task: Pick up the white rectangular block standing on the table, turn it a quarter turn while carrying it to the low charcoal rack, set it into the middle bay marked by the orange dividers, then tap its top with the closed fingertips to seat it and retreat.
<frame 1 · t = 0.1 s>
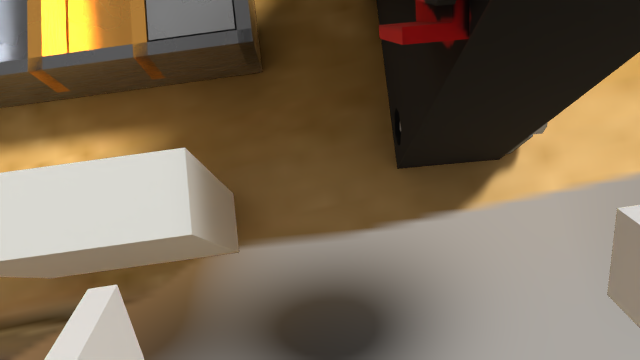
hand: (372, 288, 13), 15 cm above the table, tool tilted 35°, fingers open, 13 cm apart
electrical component: (430, 32, 32), on the table
white rectangular block: (143, 235, 29), on the table
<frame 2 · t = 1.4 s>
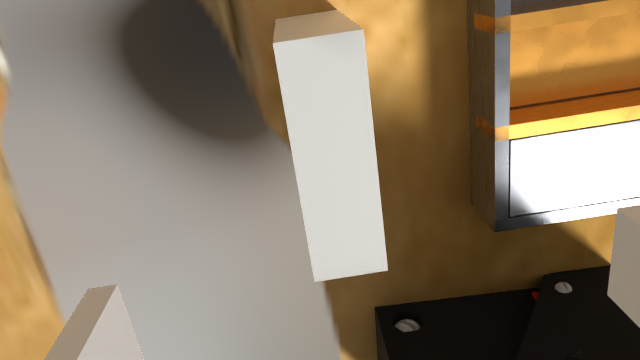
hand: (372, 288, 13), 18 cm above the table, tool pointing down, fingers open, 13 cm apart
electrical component: (489, 325, 38), on the table
rack: (588, 50, 30), on the table
white rectangular block: (319, 108, 30), on the table
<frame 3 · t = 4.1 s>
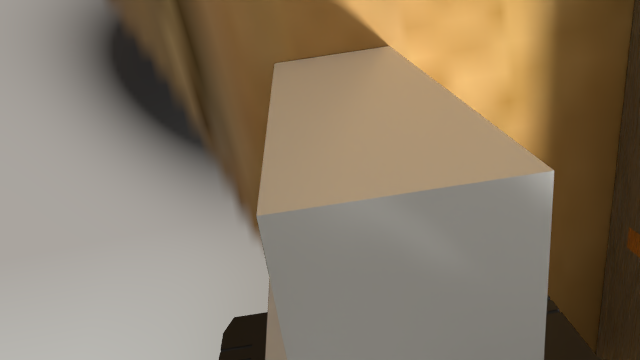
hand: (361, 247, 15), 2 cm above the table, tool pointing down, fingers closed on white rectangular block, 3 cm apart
white rectangular block: (352, 215, 17), on the table, touching gripper
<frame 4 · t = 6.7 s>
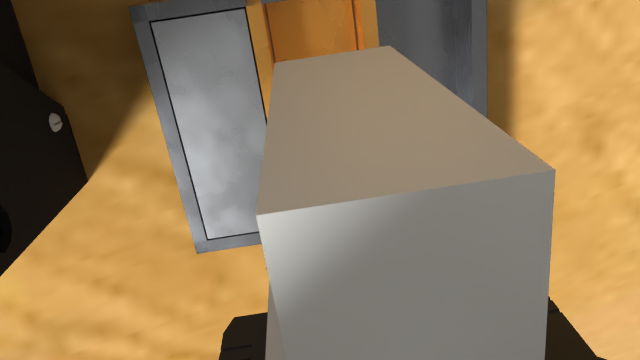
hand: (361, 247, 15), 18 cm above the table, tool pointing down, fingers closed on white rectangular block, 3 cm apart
rack: (322, 101, 31), on the table
white rectangular block: (352, 215, 17), point 16 cm above the table, touching gripper
when the fingers open (5 cm above the table, at t = 9.5 s): white rectangular block drops 2 cm, resting on rack.
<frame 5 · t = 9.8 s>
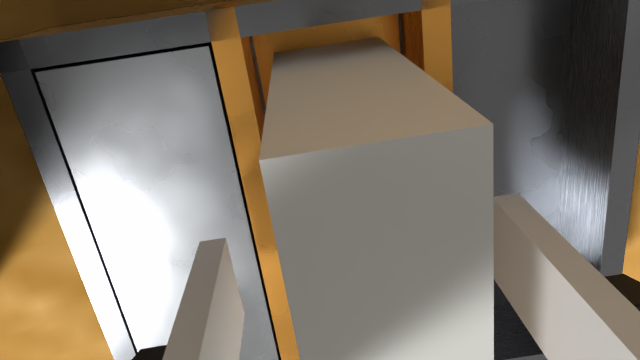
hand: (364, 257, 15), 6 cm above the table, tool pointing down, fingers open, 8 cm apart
rack: (343, 181, 20), on the table
white rectangular block: (346, 193, 19), point 1 cm above the table, touching rack
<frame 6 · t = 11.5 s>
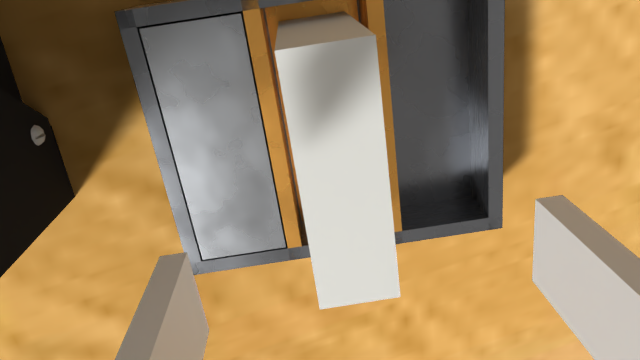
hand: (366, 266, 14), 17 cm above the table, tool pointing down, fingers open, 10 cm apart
rack: (324, 111, 29), on the table
white rectangular block: (325, 116, 28), point 1 cm above the table, touching rack
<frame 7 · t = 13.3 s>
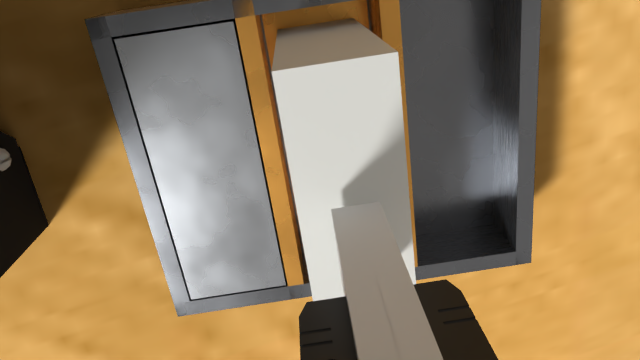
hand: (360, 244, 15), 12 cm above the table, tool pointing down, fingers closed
rack: (329, 130, 26), on the table
white rectangular block: (331, 136, 25), point 1 cm above the table, touching rack
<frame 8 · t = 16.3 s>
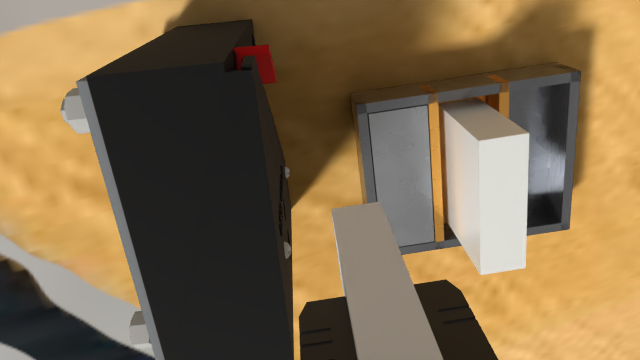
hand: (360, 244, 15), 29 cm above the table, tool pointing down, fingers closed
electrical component: (230, 125, 44), on the table
rack: (455, 155, 46), on the table
white rectangular block: (459, 159, 45), point 1 cm above the table, touching rack
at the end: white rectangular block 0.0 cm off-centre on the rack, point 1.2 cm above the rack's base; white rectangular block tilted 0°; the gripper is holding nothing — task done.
